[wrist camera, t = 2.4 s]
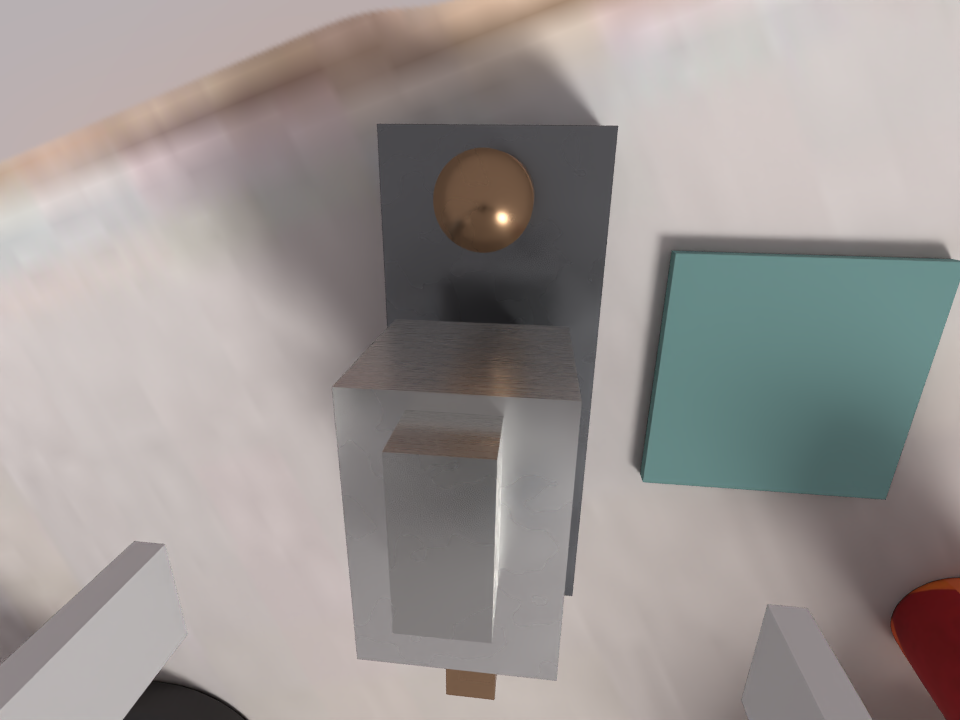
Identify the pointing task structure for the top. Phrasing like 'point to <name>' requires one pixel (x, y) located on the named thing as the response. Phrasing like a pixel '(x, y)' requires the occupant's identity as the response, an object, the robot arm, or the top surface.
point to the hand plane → (500, 247)
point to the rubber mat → (792, 369)
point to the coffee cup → (933, 640)
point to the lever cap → (459, 493)
